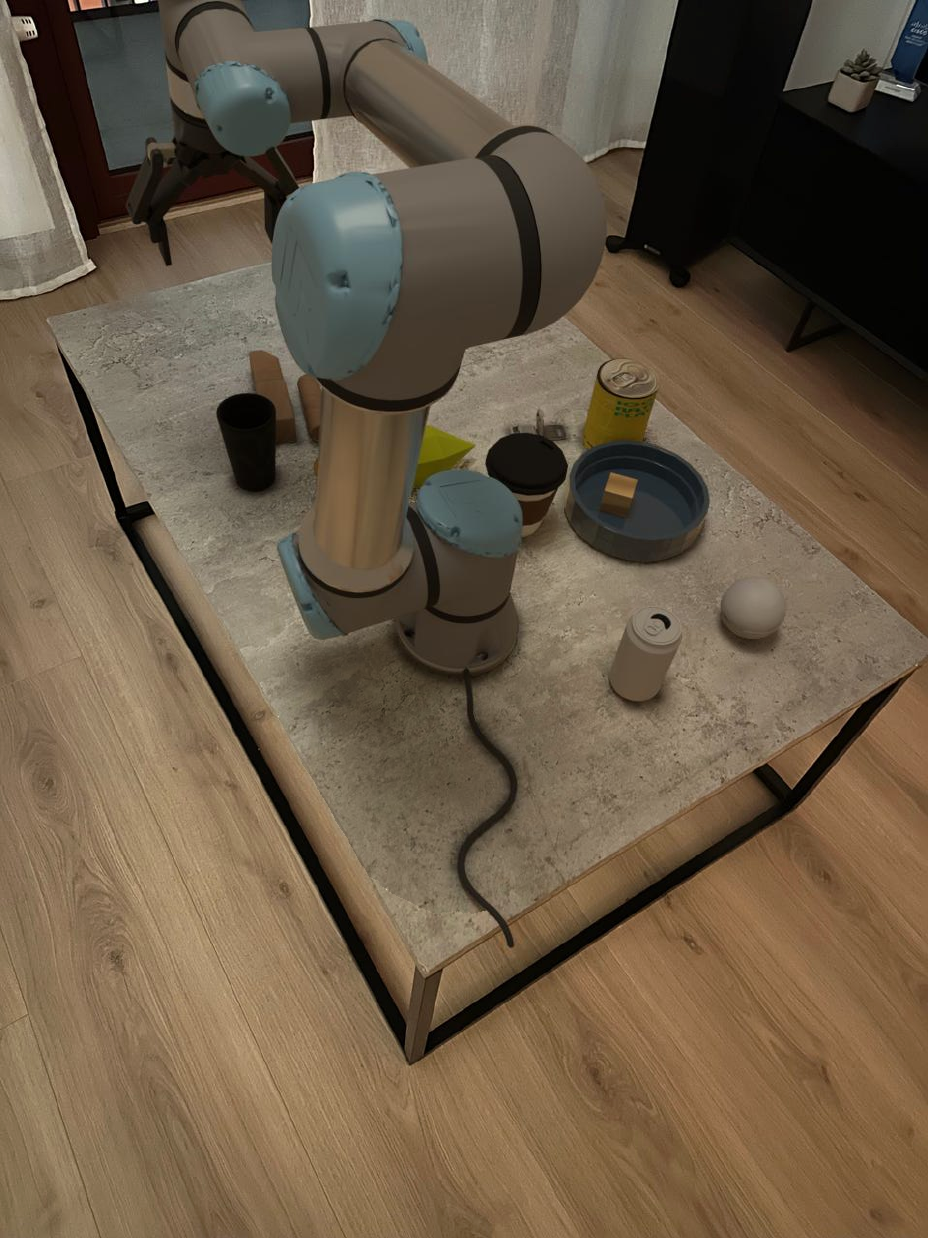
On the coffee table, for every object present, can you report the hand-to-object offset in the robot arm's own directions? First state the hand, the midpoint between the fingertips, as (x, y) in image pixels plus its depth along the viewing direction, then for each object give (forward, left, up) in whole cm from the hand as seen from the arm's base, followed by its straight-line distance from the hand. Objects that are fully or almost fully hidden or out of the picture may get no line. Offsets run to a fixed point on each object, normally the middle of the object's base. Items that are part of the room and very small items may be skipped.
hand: (219, 246), depth 113 cm
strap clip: (+14, -42, -27) cm, 52 cm away
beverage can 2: (-26, -65, -27) cm, 76 cm away
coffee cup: (-5, -44, -27) cm, 52 cm away
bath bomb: (-12, -77, -27) cm, 83 cm away
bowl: (+3, -59, -27) cm, 65 cm away
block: (+3, -57, -27) cm, 63 cm away
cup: (-11, -7, -27) cm, 31 cm away
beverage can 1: (+17, -53, -27) cm, 62 cm away
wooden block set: (+7, -8, -27) cm, 29 cm away
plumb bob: (-4, -26, -27) cm, 38 cm away
